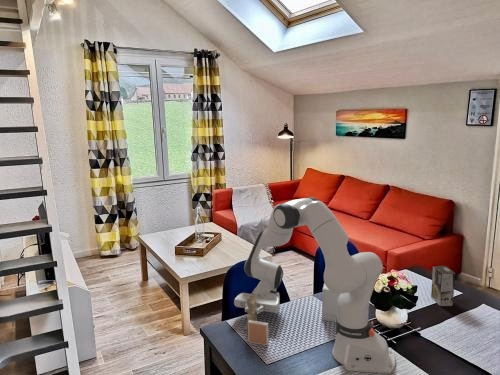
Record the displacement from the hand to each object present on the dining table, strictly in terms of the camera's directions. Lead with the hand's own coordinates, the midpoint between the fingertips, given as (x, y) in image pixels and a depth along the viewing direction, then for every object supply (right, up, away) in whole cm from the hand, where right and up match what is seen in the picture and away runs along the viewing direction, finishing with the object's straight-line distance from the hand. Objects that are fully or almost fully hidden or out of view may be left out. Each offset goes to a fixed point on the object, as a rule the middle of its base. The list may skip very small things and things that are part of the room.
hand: (251, 311), depth 161 cm
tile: (+3, -10, -9) cm, 13 cm away
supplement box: (+37, -5, +8) cm, 38 cm away
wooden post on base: (0, -7, +2) cm, 8 cm away
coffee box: (+90, -1, +19) cm, 92 cm away
